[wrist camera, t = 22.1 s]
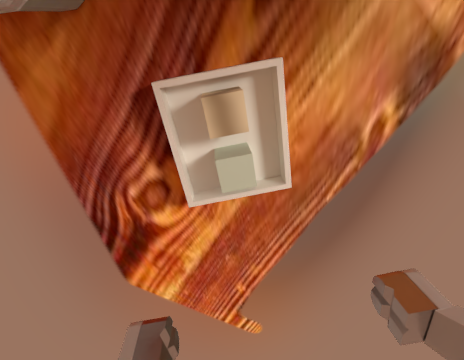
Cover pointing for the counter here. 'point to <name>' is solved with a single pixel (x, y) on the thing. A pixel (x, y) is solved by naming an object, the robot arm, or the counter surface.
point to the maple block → (225, 112)
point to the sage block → (235, 167)
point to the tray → (258, 138)
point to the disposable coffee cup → (38, 5)
